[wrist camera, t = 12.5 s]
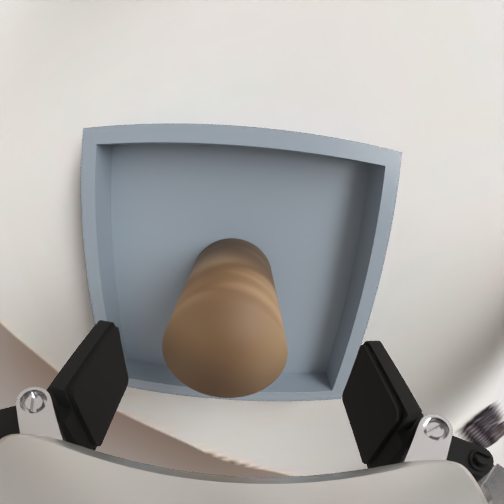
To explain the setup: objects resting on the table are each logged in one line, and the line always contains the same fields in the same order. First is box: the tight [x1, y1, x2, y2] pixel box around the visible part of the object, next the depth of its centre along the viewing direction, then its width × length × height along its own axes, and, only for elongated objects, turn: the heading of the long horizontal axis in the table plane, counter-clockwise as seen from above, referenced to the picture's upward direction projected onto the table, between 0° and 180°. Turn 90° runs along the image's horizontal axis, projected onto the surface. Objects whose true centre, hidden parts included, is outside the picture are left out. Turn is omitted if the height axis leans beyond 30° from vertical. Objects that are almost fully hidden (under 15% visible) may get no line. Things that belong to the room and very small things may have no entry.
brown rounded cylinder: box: [162, 238, 288, 398], centre depth 15 cm, size 5×5×8 cm
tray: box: [81, 124, 402, 401], centre depth 18 cm, size 18×18×3 cm
